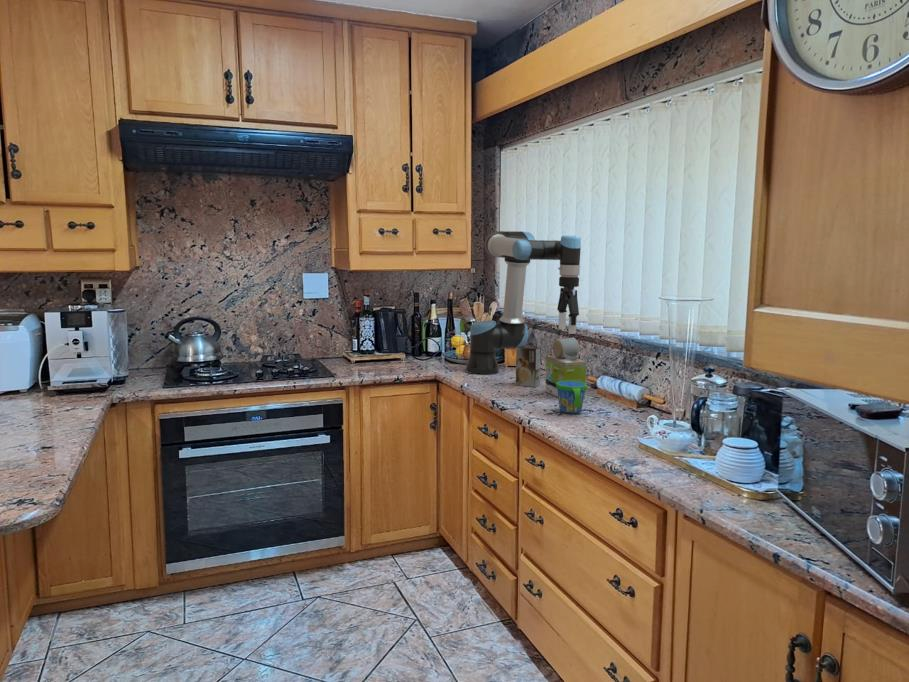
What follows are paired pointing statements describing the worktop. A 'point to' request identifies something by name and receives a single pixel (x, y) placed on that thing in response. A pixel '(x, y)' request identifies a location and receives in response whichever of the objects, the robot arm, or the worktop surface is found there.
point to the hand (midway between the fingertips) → (566, 331)
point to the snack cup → (571, 396)
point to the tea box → (563, 372)
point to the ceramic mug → (566, 348)
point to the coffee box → (528, 366)
